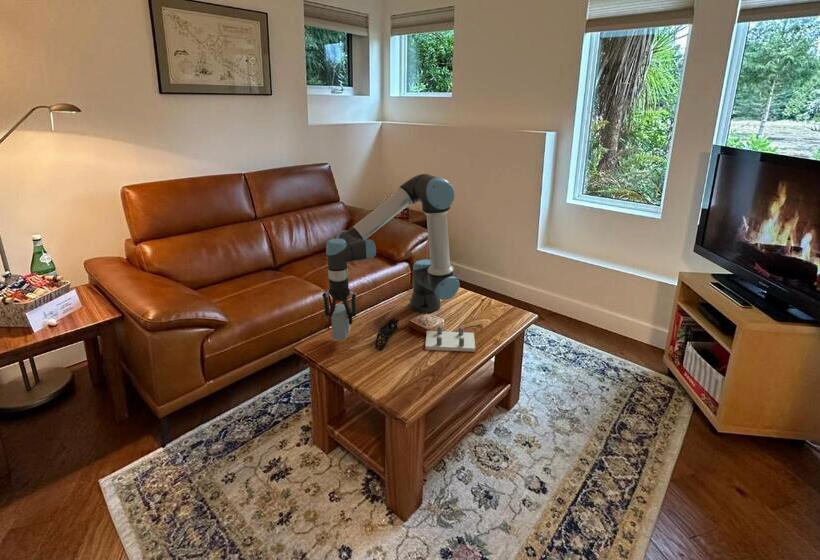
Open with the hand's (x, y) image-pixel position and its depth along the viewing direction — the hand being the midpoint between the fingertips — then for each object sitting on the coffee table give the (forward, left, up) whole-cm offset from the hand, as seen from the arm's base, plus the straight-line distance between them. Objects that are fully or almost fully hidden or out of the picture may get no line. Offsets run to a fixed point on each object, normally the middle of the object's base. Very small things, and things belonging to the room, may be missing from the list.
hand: (342, 330), depth 191 cm
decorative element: (-17, +8, -6) cm, 20 cm away
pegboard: (-35, +28, -6) cm, 45 cm away
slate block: (0, 0, -1) cm, 1 cm away
